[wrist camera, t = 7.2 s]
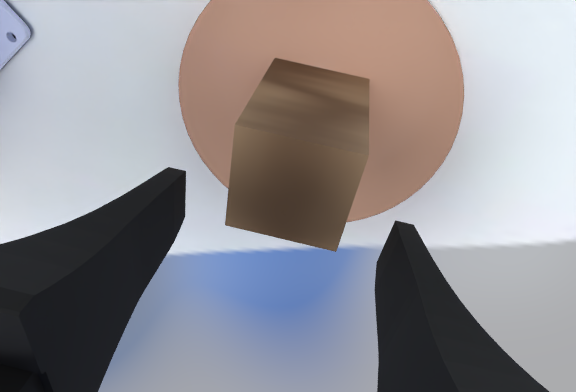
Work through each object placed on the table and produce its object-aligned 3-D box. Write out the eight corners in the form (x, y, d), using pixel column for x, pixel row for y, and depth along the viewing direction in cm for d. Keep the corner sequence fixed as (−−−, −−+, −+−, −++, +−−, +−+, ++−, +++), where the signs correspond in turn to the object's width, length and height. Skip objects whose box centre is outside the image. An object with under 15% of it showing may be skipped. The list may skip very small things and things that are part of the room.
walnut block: (262, 140, 22) (225, 225, 16) (274, 57, 19) (234, 124, 13) (345, 159, 21) (336, 251, 16) (369, 78, 19) (368, 155, 13)
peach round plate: (284, 244, 27) (282, 252, 26) (130, 66, 21) (123, 71, 21) (504, 153, 21) (509, 161, 20) (371, -136, 15) (371, -137, 14)
